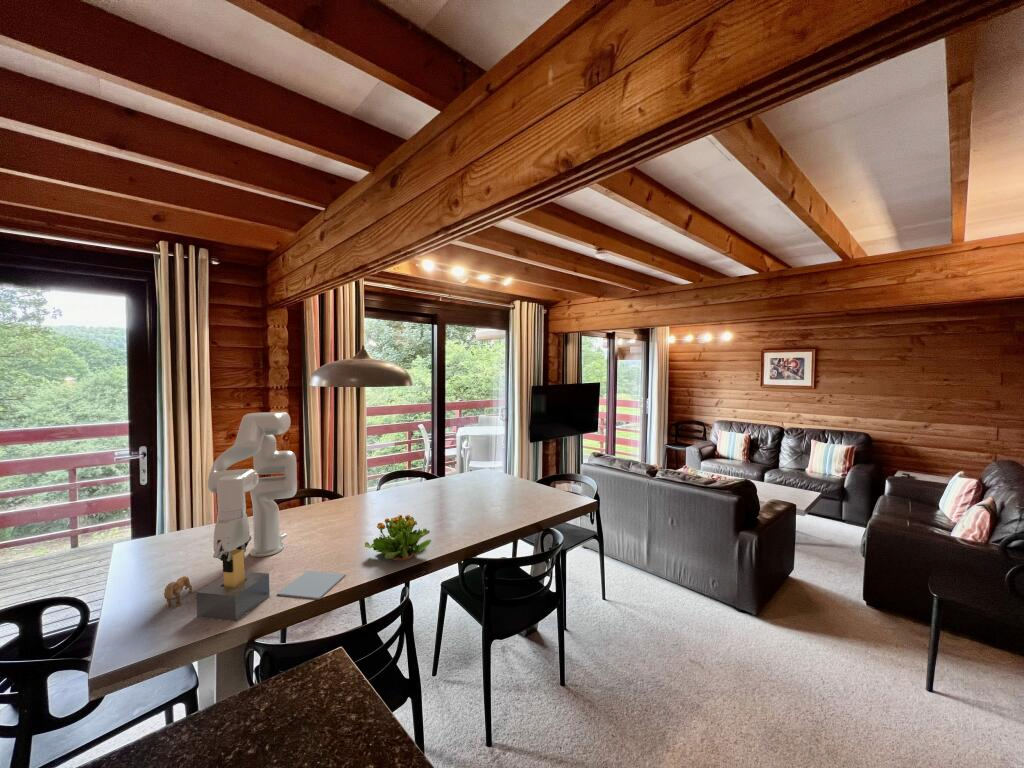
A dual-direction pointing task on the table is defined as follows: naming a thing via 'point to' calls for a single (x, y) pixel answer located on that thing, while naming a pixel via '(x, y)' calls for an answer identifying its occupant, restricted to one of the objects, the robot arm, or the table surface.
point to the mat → (311, 585)
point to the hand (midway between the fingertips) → (233, 567)
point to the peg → (235, 570)
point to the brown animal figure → (176, 590)
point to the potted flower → (399, 539)
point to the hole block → (232, 597)
